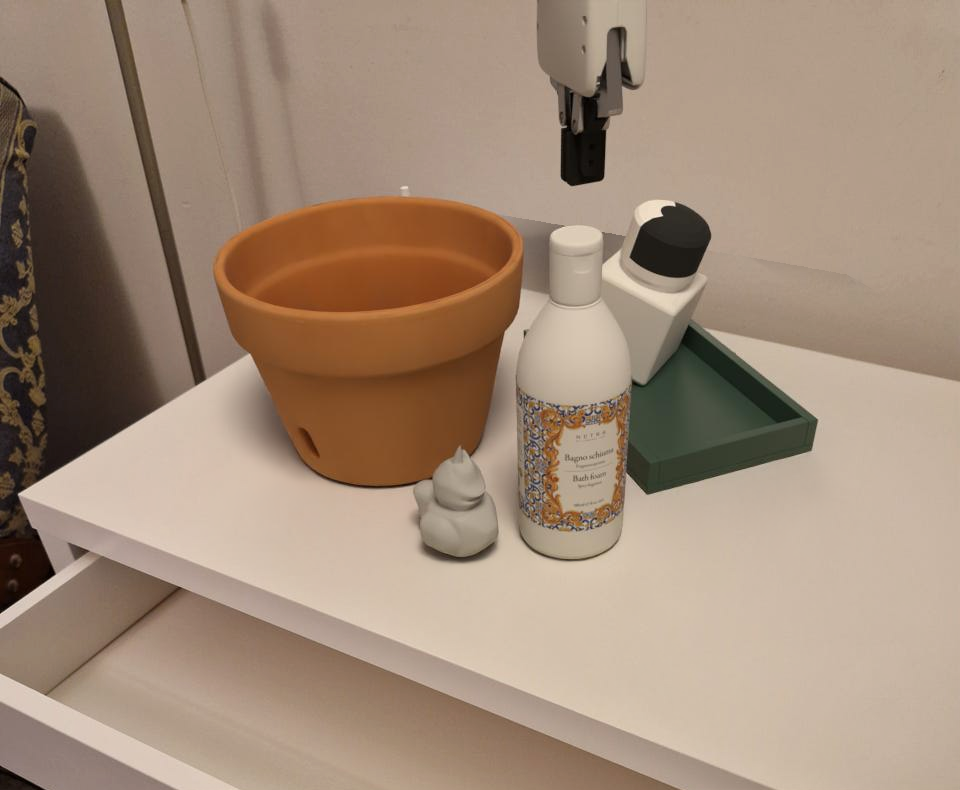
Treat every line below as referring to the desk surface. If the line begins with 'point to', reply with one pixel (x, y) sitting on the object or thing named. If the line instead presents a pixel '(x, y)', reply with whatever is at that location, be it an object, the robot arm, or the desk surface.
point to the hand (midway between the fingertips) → (582, 180)
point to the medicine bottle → (656, 282)
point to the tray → (709, 417)
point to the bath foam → (573, 408)
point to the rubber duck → (456, 508)
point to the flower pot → (375, 327)
